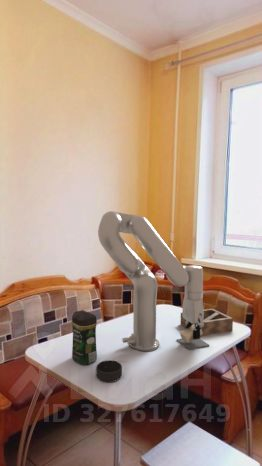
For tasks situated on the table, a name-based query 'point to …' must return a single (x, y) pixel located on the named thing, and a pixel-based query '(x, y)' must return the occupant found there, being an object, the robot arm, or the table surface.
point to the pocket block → (214, 322)
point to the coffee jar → (84, 337)
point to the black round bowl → (109, 371)
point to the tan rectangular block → (188, 334)
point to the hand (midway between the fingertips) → (192, 336)
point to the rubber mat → (193, 344)
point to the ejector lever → (211, 316)
